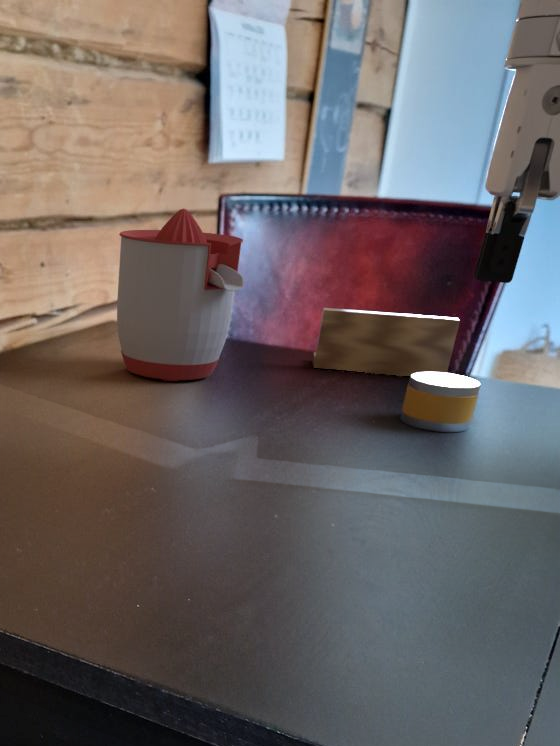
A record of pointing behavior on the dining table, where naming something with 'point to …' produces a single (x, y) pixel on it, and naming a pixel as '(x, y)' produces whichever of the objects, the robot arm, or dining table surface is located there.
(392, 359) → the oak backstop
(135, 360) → the citrus juicer
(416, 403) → the tin can
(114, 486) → the dining table surface
